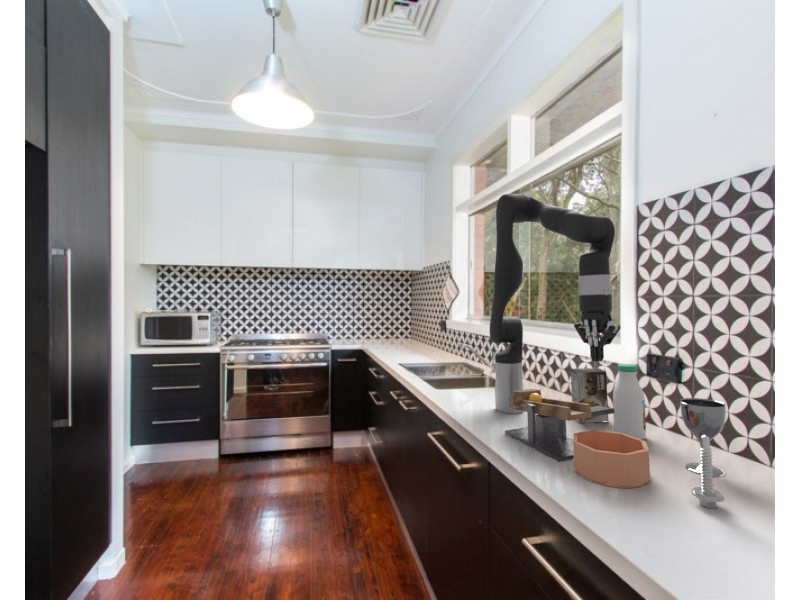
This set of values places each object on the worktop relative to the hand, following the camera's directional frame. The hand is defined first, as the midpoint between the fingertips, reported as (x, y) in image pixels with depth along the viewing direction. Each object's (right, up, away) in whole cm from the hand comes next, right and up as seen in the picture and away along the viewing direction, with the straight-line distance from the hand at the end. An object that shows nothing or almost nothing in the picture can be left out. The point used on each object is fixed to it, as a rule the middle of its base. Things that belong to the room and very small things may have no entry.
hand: (597, 360), depth 99 cm
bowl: (-4, -23, -13) cm, 27 cm away
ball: (-12, -13, +10) cm, 20 cm away
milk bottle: (+14, -23, +9) cm, 28 cm away
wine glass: (+17, -23, -13) cm, 31 cm away
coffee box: (+10, -23, +25) cm, 35 cm away
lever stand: (-10, -23, +6) cm, 26 cm away
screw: (+7, -23, -27) cm, 36 cm away
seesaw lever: (-8, -15, +7) cm, 18 cm away
